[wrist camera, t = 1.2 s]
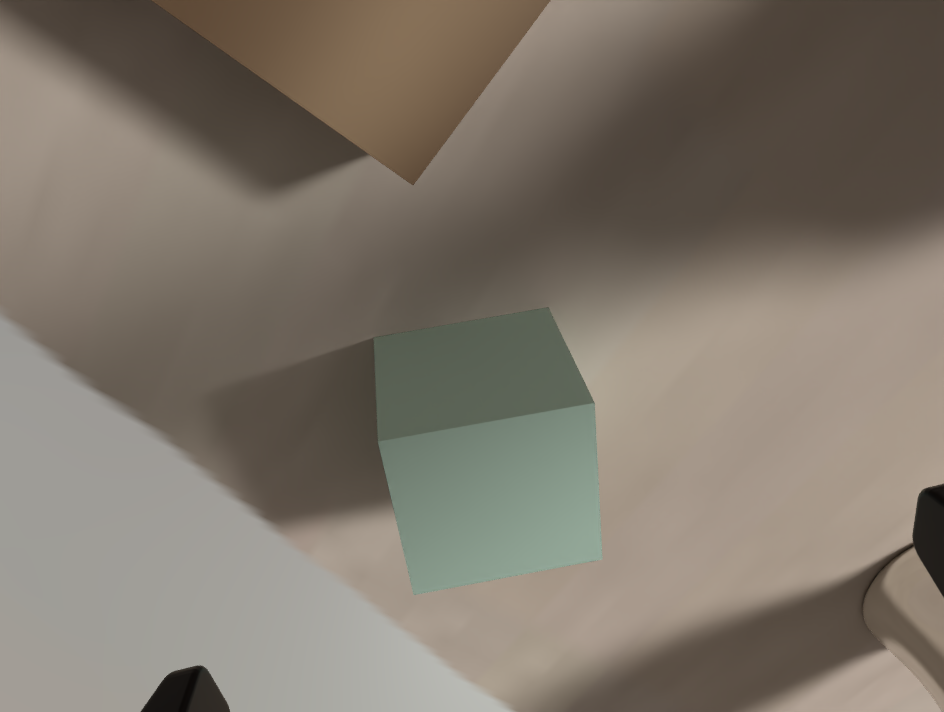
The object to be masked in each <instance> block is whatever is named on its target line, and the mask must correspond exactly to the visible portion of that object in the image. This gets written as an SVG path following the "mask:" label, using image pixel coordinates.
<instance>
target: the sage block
mask: <svg viewBox="0 0 944 712" xmlns="http://www.w3.org/2000/svg"><path fill="white" fill-rule="evenodd" d="M374 359H375V384H376V409H377V434H378V445H379V449H380V453H381V457H382V462H383V466H384V470H385V474H386V479H387V483H388V487H389V492H390V496H391V500H392V504H393V509H394V513H395V517H396V521H397V526H398V530H399V534H400V539H401V543H402V547H403V551H404V556H405V560H406V564H407V568H408V573H409V577H410V581H411V586H412V590H413V594H414V595H416V594H422V593H427V592H432V591H438V590H443V589H448V588H453V587H459V586H464V585H469V584H475V583H480V582H485V581H490V580H496V579H501V578H506V577H512V576H517V575H522V574H528V573H533V572H538V571H543V570H549V569H554V568H559V567H565V566H570V565H575V564H580V563H586V562H591V561H596V560H602V542H601V522H600V502H599V482H598V462H597V442H596V422H595V403H594V401H593V399H592V397H591V395H590V392H589V390H588V388H587V386H586V384H585V382H584V380H583V378H582V376H581V374H580V372H579V370H578V368H577V366H576V364H575V362H574V359H573V357H572V355H571V353H570V351H569V349H568V347H567V345H566V343H565V341H564V339H563V337H562V335H561V333H560V331H559V329H558V327H557V324H556V322H555V320H554V318H553V316H552V314H551V312H550V310H549V308H542V309H537V310H531V311H525V312H519V313H513V314H508V315H502V316H496V317H490V318H484V319H479V320H473V321H467V322H461V323H455V324H449V325H444V326H438V327H432V328H426V329H420V330H415V331H409V332H403V333H397V334H391V335H386V336H380V337H374Z"/></svg>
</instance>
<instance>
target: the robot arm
mask: <svg viewBox="0 0 944 712" xmlns="http://www.w3.org/2000/svg"><path fill="white" fill-rule="evenodd" d="M913 544H914V548H915V550H916V553H917V555H918V556H919V558H920V560H921V562H922V563H923V565H924V566H925V568H926V570H927V571H928V573H929V575H930V576H931V578H932V580H933V581H934V583H935V585H936V586H937V588H938V589H939V591H940V593H941V594H942V596H943V598H944V484H941V485H937V486H932V487H928V488H925V489H923V490H922V491H921V493H920V494H919V496H918V501H917V508H916V514H915V521H914V528H913ZM141 712H230V709H229V706H228V704H227V702H226V700H225V698H224V697H223V695H222V694H221V692H220V690H219V688H218V686H217V685H216V683H215V682H214V680H213V678H212V676H211V674H210V673H209V671H208V670H207V669H206V668H205V667H203V666H193V667H190V668H185V669H181V670H177V671H174V672H171V673H170V674H169V675H167V676H166V677H165V678H164V680H163V681H162V682H161V684H160V685H159V686H158V688H157V689H156V691H155V692H154V694H153V695H152V696H151V698H150V699H149V701H148V702H147V704H146V705H145V706H144V708H143V709H142V711H141Z"/></svg>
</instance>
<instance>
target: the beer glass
mask: <svg viewBox="0 0 944 712" xmlns="http://www.w3.org/2000/svg"><path fill="white" fill-rule="evenodd" d="M863 617H864V620H865V623H866V625H867V627H868V628H869V630H870V631H871V632H872V633H873V635H874V636H875V637H876V638H877V639H878V640H879V641H880V642H881V643H882V644H883V645H884V646H885V647H886V648H887V649H888V650H889V651H890V652H891V653H892V654H893V655H894V656H895V657H896V658H897V659H899V660H900V661H901V662H902V663H903V664H904V665H905V666H906V667H907V668H908V669H909V670H910V671H911V672H912V673H913V675H914V676H915V677H916V678H917V679H918V680H919V681H920V682H921V683H922V685H923V686H924V687H925V689H926V690H927V691H928V692H929V694H930V695H931V696H932V698H933V699H934V700H935V702H936V704H937V705H938V707H939V708H940V710H941V711H942V712H944V598H943V596H942V594H941V593H940V591H939V589H938V588H937V586H936V585H935V583H934V581H933V580H932V578H931V576H930V575H929V573H928V571H927V570H926V568H925V566H924V565H923V563H922V562H921V560H920V558H919V556H918V555H917V553H916V550H915V548H914V546H912V547H911V548H909V549H907V550H906V551H904V552H903V553H901V554H900V555H898V556H897V557H896V558H894V559H893V560H892V561H891V562H890V563H888V564H887V565H886V566H885V567H884V568H883V569H882V570H881V571H880V573H879V574H878V575H877V576H876V578H875V579H874V580H873V582H872V583H871V585H870V587H869V589H868V591H867V593H866V596H865V599H864V603H863Z"/></svg>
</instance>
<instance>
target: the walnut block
mask: <svg viewBox="0 0 944 712" xmlns="http://www.w3.org/2000/svg"><path fill="white" fill-rule="evenodd" d="M151 1H153V2H154V3H156V4H157V5H159V6H160V7H161V8H163V9H164V10H166V11H167V12H168V13H170V14H171V15H173V16H174V17H176V18H177V19H178V20H180V21H181V22H183V23H184V24H185V25H187V26H188V27H190V28H191V29H192V30H194V31H195V32H197V33H198V34H200V35H201V36H202V37H204V38H205V39H207V40H208V41H209V42H211V43H212V44H214V45H215V46H217V47H218V48H219V49H221V50H222V51H224V52H225V53H226V54H228V55H229V56H231V57H232V58H233V59H235V60H236V61H238V62H239V63H241V64H242V65H243V66H245V67H246V68H248V69H249V70H250V71H252V72H253V73H255V74H256V75H258V76H259V77H260V78H262V79H263V80H265V81H266V82H267V83H269V84H270V85H272V86H273V87H274V88H276V89H277V90H279V91H280V92H282V93H283V94H284V95H286V96H287V97H289V98H290V99H291V100H293V101H294V102H296V103H297V104H299V105H300V106H301V107H303V108H304V109H306V110H307V111H308V112H310V113H311V114H313V115H314V116H315V117H317V118H318V119H320V120H321V121H323V122H324V123H325V124H327V125H328V126H330V127H331V128H332V129H334V130H335V131H337V132H338V133H340V134H341V135H342V136H344V137H345V138H347V139H348V140H349V141H351V142H352V143H354V144H355V145H356V146H358V147H359V148H361V149H362V150H364V151H365V152H366V153H368V154H369V155H371V156H372V157H373V158H375V159H376V160H378V161H379V162H380V163H382V164H383V165H385V166H386V167H388V168H389V169H390V170H392V171H393V172H395V173H396V174H397V175H399V176H400V177H402V178H403V179H405V180H406V181H407V182H409V183H410V184H412V185H414V183H415V182H416V181H417V179H418V178H419V177H420V175H421V174H422V173H423V171H424V170H425V169H426V167H427V166H428V165H429V163H430V162H431V161H432V159H433V158H434V157H435V155H436V154H437V153H438V151H439V150H440V148H441V147H442V146H443V144H444V143H445V142H446V140H447V139H448V138H449V136H450V135H451V134H452V132H453V131H454V130H455V128H456V127H457V126H458V124H459V123H460V122H461V120H462V119H463V117H464V116H465V115H466V113H467V112H468V111H469V109H470V108H471V107H472V105H473V104H474V103H475V101H476V100H477V99H478V97H479V96H480V95H481V93H482V92H483V91H484V89H485V88H486V87H487V85H488V84H489V82H490V81H491V80H492V78H493V77H494V76H495V74H496V73H497V72H498V70H499V69H500V68H501V66H502V65H503V64H504V62H505V61H506V60H507V58H508V57H509V56H510V54H511V53H512V51H513V50H514V49H515V47H516V46H517V45H518V43H519V42H520V41H521V39H522V38H523V37H524V35H525V34H526V33H527V31H528V30H529V29H530V27H531V26H532V25H533V23H534V22H535V20H536V19H537V18H538V16H539V15H540V14H541V12H542V11H543V10H544V8H545V7H546V6H547V4H548V3H549V2H550V0H151Z"/></svg>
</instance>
